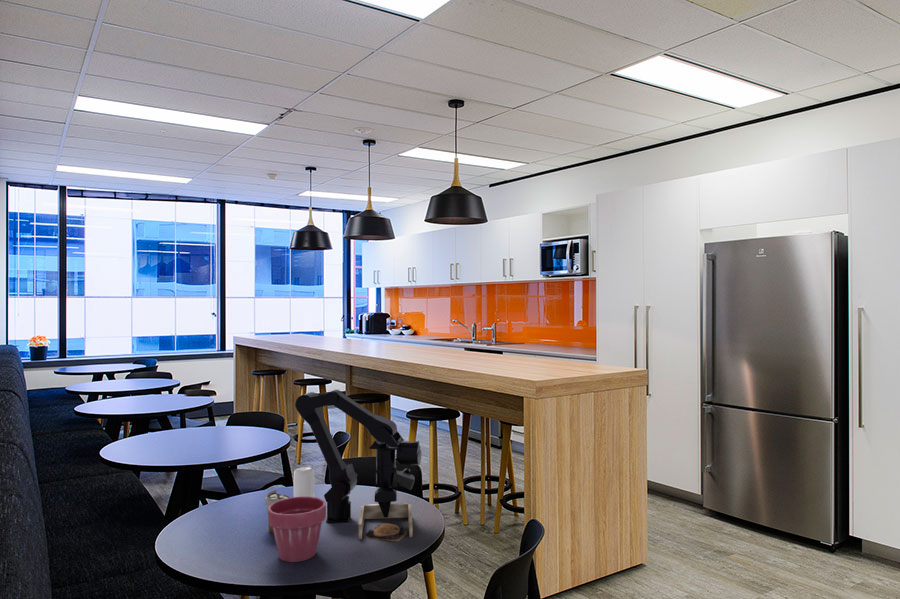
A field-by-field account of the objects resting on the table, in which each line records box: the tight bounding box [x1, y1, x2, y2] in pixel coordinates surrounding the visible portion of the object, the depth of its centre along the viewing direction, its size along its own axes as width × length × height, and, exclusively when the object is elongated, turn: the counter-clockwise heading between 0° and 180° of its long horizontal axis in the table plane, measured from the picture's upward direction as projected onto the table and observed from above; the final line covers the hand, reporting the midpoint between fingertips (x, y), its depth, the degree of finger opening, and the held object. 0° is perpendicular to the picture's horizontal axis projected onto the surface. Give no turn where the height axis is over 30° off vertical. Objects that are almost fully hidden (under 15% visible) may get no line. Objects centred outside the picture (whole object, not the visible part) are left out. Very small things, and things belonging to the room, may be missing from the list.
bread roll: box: [364, 522, 409, 542], centre depth 170 cm, size 11×8×4 cm
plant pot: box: [267, 496, 327, 563], centre depth 156 cm, size 14×14×13 cm
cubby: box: [358, 502, 413, 540], centre depth 175 cm, size 15×17×4 cm
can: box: [293, 465, 315, 497], centre depth 195 cm, size 6×6×12 cm
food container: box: [264, 489, 291, 535], centre depth 172 cm, size 12×6×10 cm, turn 48°
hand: (386, 517), depth 180 cm, fingers closed
